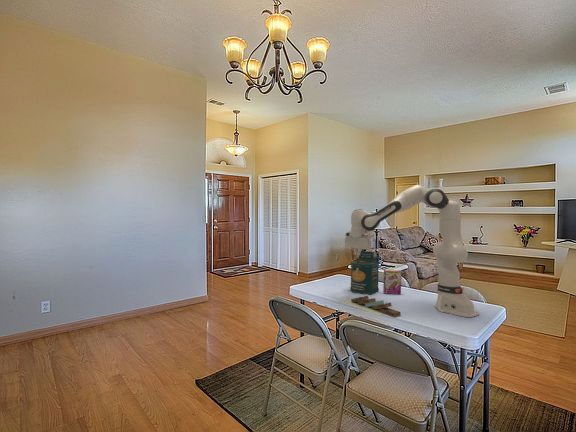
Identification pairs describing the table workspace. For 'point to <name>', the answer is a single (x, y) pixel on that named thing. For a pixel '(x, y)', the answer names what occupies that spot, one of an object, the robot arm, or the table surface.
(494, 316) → the table surface
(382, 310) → the tile
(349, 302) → the felt mat
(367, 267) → the donation box
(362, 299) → the tile
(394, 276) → the candy bar box
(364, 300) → the tile
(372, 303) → the teal tile
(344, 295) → the table surface
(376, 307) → the tile
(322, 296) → the table surface
